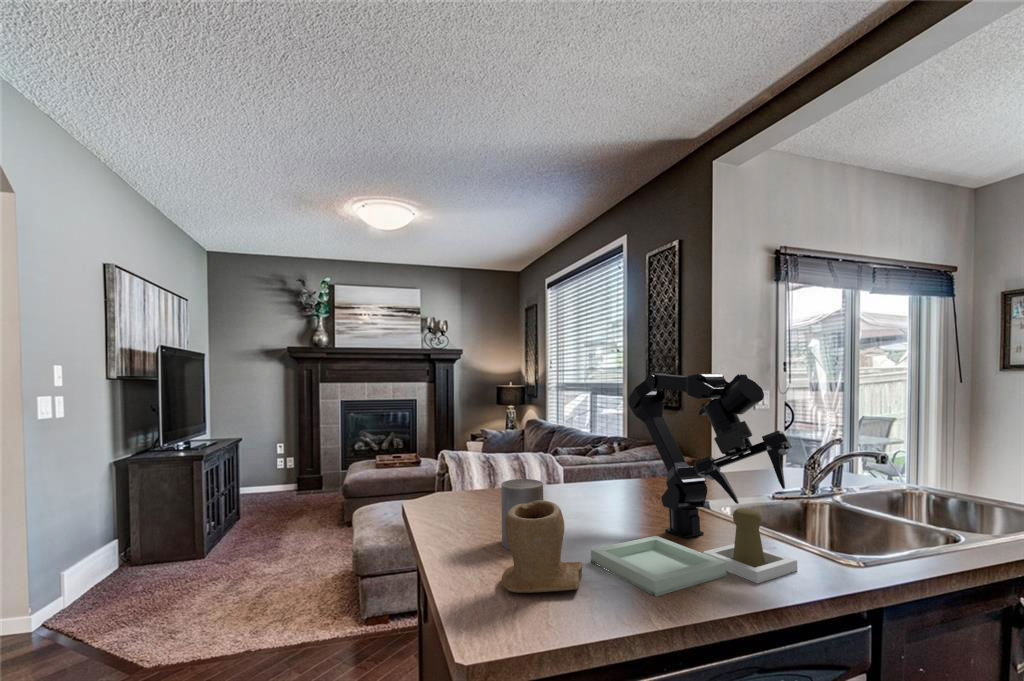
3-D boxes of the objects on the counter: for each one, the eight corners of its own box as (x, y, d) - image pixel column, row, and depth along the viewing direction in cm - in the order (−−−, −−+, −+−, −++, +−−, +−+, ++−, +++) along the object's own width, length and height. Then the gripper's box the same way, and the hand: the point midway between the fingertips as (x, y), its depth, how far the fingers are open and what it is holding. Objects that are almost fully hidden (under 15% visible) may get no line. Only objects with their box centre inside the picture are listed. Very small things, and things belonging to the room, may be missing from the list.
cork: (725, 563, 97) (723, 507, 98) (748, 559, 99) (746, 504, 100) (750, 574, 92) (747, 514, 93) (773, 569, 94) (770, 511, 95)
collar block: (703, 561, 98) (703, 551, 98) (742, 551, 104) (741, 542, 104) (757, 583, 87) (757, 572, 88) (797, 570, 93) (796, 560, 93)
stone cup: (500, 604, 80) (500, 512, 81) (502, 575, 92) (501, 495, 93) (592, 603, 80) (590, 511, 81) (581, 575, 92) (580, 494, 93)
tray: (591, 562, 98) (590, 549, 98) (656, 547, 107) (656, 535, 107) (655, 596, 82) (655, 581, 83) (726, 575, 91) (725, 562, 91)
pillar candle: (534, 535, 115) (532, 471, 117) (552, 548, 106) (550, 479, 108) (495, 541, 112) (494, 475, 113) (511, 555, 103) (509, 483, 104)
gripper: (673, 432, 102) (703, 506, 93) (762, 396, 95) (803, 473, 86) (690, 443, 110) (719, 512, 101) (773, 411, 103) (811, 482, 94)
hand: (760, 496), depth 95 cm, fingers open, 9 cm apart
